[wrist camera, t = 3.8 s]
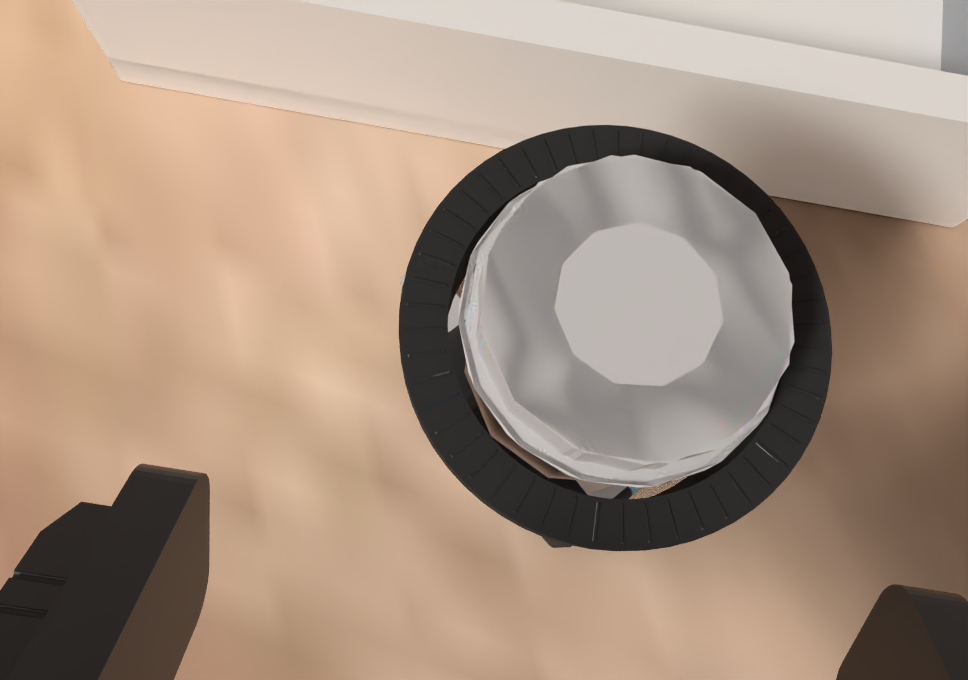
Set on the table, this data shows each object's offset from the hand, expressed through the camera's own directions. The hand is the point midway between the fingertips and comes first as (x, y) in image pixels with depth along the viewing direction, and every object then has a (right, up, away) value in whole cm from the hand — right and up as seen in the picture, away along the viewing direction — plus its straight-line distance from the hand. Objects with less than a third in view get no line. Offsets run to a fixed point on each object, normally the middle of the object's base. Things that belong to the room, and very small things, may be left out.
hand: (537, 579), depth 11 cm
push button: (0, +1, +9) cm, 9 cm away
